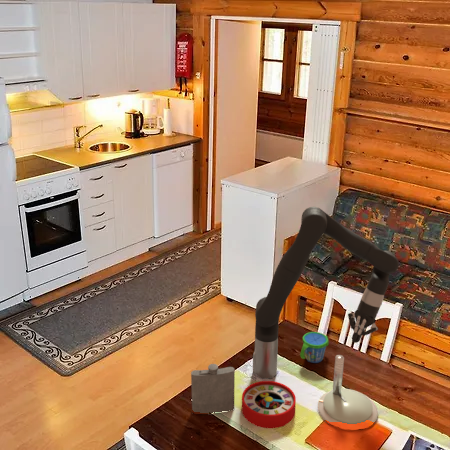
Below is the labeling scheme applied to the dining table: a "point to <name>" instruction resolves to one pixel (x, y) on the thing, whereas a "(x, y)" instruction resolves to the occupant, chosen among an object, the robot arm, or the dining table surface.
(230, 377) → the hip flask
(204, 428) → the dining table surface
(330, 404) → the beige disc with handle
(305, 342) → the snack cup
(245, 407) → the toy clock
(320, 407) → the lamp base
